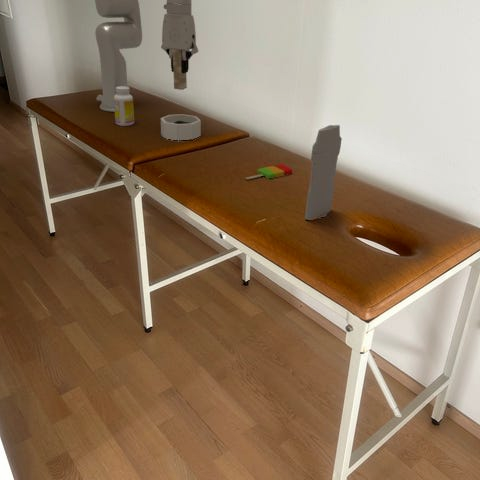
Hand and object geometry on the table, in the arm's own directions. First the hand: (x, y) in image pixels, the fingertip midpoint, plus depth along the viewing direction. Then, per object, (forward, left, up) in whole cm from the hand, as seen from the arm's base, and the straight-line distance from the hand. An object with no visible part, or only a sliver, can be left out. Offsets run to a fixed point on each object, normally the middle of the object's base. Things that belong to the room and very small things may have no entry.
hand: (179, 71), depth 166 cm
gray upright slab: (+61, -37, -21) cm, 75 cm away
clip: (0, 0, -21) cm, 21 cm away
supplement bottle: (-24, +1, -21) cm, 32 cm away
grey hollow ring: (0, 0, -21) cm, 21 cm away
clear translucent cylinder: (0, 0, -5) cm, 5 cm away
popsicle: (+40, -19, -22) cm, 49 cm away
